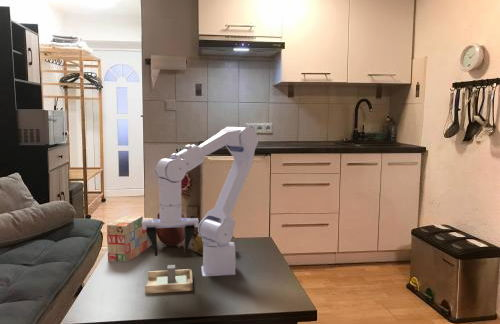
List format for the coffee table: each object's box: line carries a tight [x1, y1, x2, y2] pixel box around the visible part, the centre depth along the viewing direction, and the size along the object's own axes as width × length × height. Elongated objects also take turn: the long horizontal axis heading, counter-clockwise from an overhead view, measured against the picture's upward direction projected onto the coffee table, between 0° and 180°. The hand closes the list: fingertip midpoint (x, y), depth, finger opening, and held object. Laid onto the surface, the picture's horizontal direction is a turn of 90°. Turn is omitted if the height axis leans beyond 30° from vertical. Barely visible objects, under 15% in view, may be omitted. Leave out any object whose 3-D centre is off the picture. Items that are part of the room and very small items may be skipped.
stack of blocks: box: [106, 214, 155, 263], centre depth 135 cm, size 21×6×12 cm, turn 169°
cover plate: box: [156, 264, 187, 285], centre depth 108 cm, size 8×7×5 cm
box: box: [144, 268, 194, 294], centre depth 108 cm, size 12×10×2 cm
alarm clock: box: [156, 209, 188, 248], centre depth 141 cm, size 11×5×15 cm, turn 77°
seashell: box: [191, 233, 236, 256], centre depth 137 cm, size 11×14×10 cm
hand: (171, 253), depth 107 cm, fingers open, 7 cm apart
